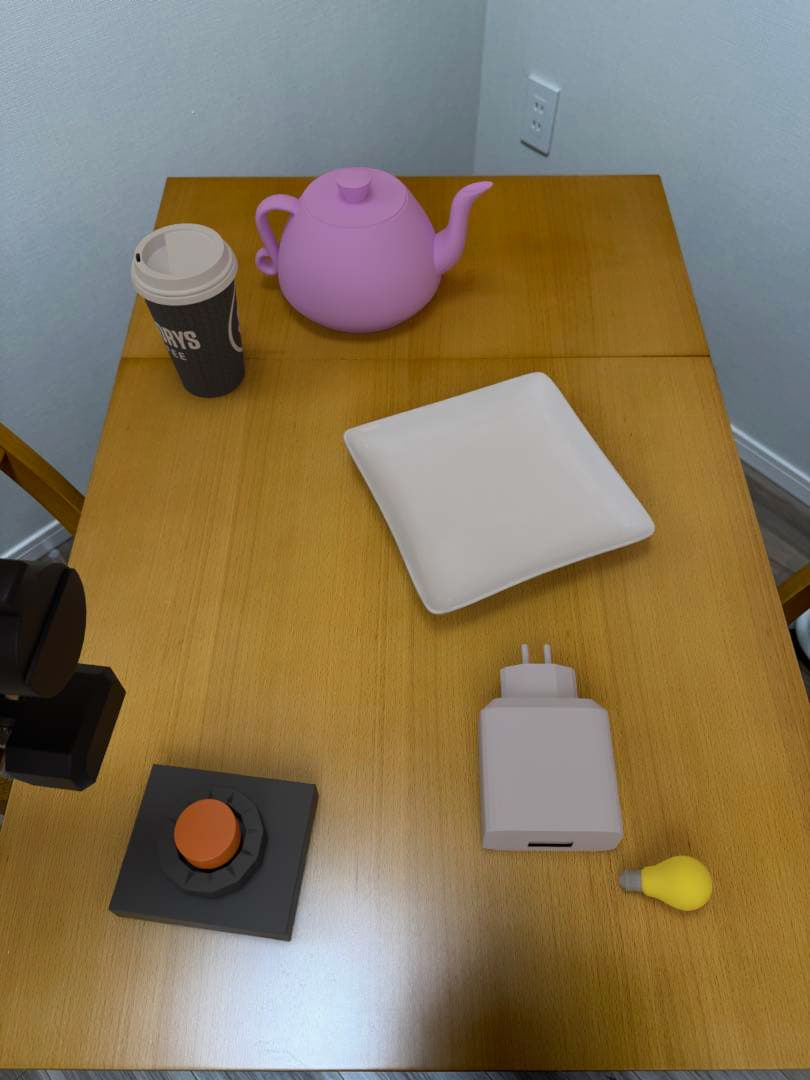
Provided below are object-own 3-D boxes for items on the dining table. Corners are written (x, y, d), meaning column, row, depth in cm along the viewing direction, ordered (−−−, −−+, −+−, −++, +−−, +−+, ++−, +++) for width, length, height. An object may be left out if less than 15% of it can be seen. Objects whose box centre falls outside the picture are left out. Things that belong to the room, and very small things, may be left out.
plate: (655, 551, 74) (664, 528, 71) (430, 636, 70) (431, 615, 67) (540, 390, 85) (544, 365, 83) (340, 455, 81) (338, 430, 78)
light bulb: (714, 908, 58) (715, 914, 54) (623, 904, 59) (618, 909, 56) (710, 855, 59) (710, 857, 55) (620, 852, 60) (615, 854, 57)
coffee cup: (181, 339, 91) (143, 214, 78) (269, 346, 90) (245, 221, 77) (154, 404, 85) (108, 281, 73) (247, 413, 84) (217, 290, 72)
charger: (590, 659, 68) (613, 852, 60) (474, 658, 69) (481, 850, 60) (600, 630, 65) (626, 832, 56) (477, 630, 65) (485, 831, 56)
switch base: (117, 916, 58) (98, 903, 55) (160, 773, 64) (146, 753, 60) (290, 941, 57) (282, 929, 54) (319, 794, 63) (313, 775, 59)
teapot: (246, 340, 90) (222, 227, 79) (271, 237, 100) (253, 124, 89) (484, 347, 89) (493, 234, 78) (485, 242, 99) (493, 128, 88)
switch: (174, 864, 56) (166, 856, 55) (190, 804, 59) (183, 795, 57) (233, 873, 56) (227, 864, 54) (247, 812, 58) (242, 802, 56)
